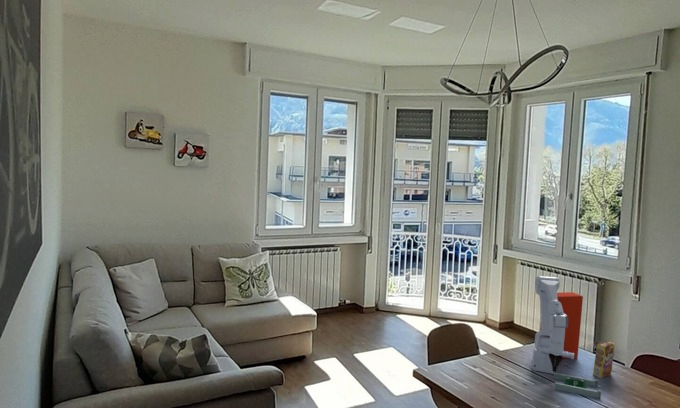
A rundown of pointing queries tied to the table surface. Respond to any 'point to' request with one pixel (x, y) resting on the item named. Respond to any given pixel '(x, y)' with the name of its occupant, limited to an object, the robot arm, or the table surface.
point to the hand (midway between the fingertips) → (554, 370)
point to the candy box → (603, 359)
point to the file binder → (571, 320)
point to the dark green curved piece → (575, 383)
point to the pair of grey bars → (577, 389)
